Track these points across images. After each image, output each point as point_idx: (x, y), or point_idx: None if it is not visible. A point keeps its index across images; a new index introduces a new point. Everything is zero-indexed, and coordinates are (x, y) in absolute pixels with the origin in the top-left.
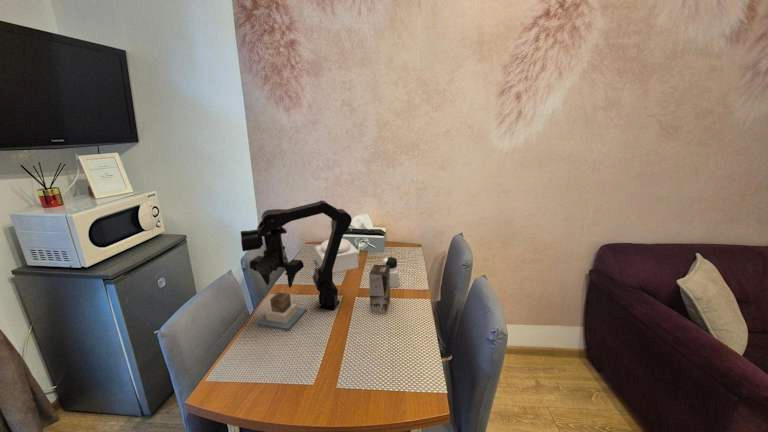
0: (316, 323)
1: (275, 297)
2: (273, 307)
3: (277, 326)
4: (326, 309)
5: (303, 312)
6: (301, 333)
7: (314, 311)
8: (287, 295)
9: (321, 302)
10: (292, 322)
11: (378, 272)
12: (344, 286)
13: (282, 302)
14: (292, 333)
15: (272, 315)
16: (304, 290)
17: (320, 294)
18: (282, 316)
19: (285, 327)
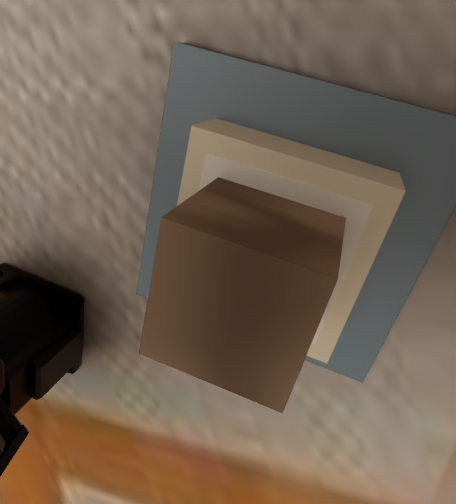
0: (39, 139)
1: (276, 309)
2: (316, 224)
3: (273, 70)
4: (37, 277)
5: (144, 254)
6: (85, 14)
7: (98, 271)
8: (149, 326)
9: (54, 326)
10: (171, 128)
11: None
12: (40, 461)
13: (171, 210)
14: (146, 10)
15: (329, 164)
16: (229, 489)
17: (11, 363)
18: (221, 132)
19: (203, 57)
